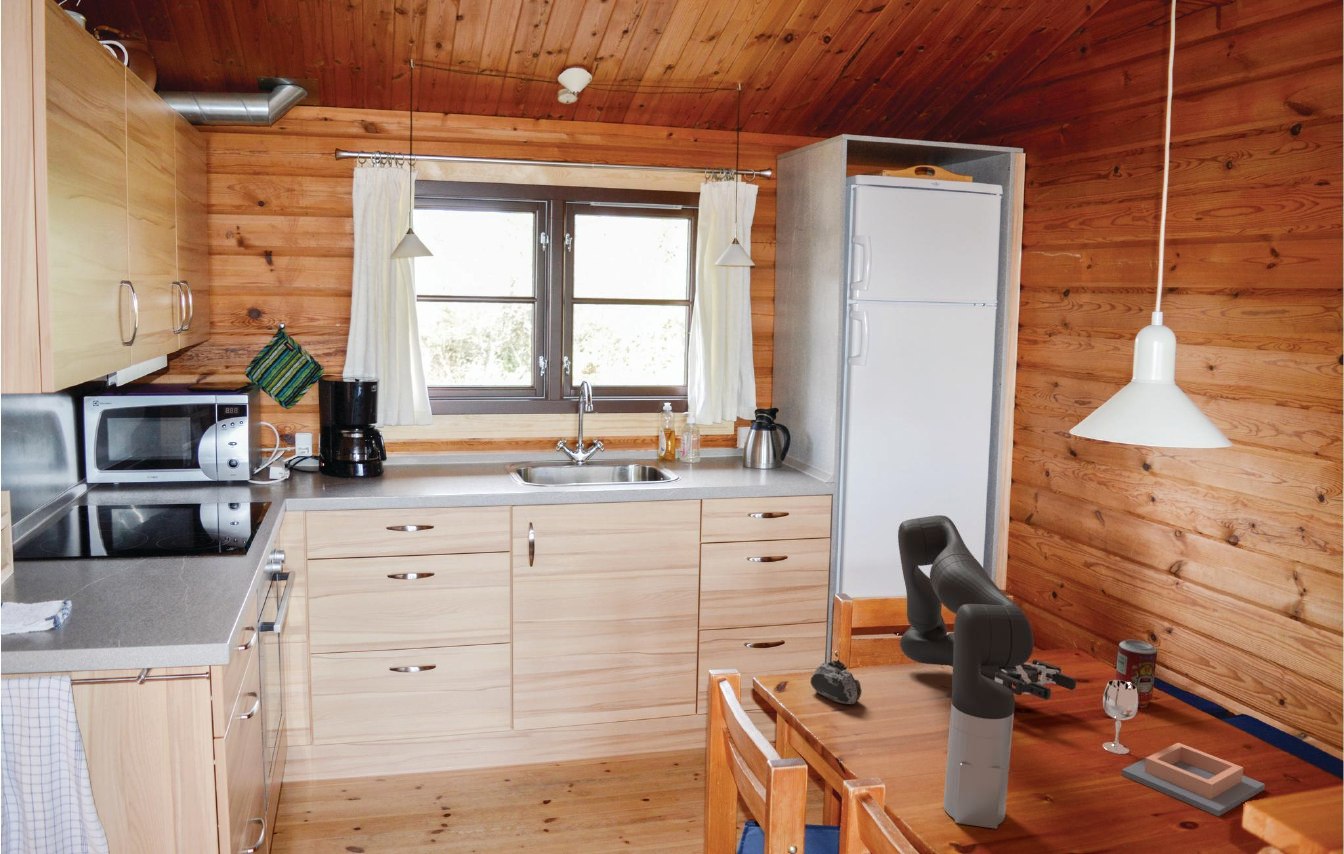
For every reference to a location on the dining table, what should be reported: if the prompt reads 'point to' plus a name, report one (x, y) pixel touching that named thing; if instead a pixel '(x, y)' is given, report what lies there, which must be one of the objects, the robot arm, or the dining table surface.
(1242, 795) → the glass holder
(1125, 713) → the wineglass
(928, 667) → the dining table surface
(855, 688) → the dark grey rock
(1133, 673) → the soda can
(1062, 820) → the dining table surface
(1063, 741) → the dining table surface
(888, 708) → the dining table surface
